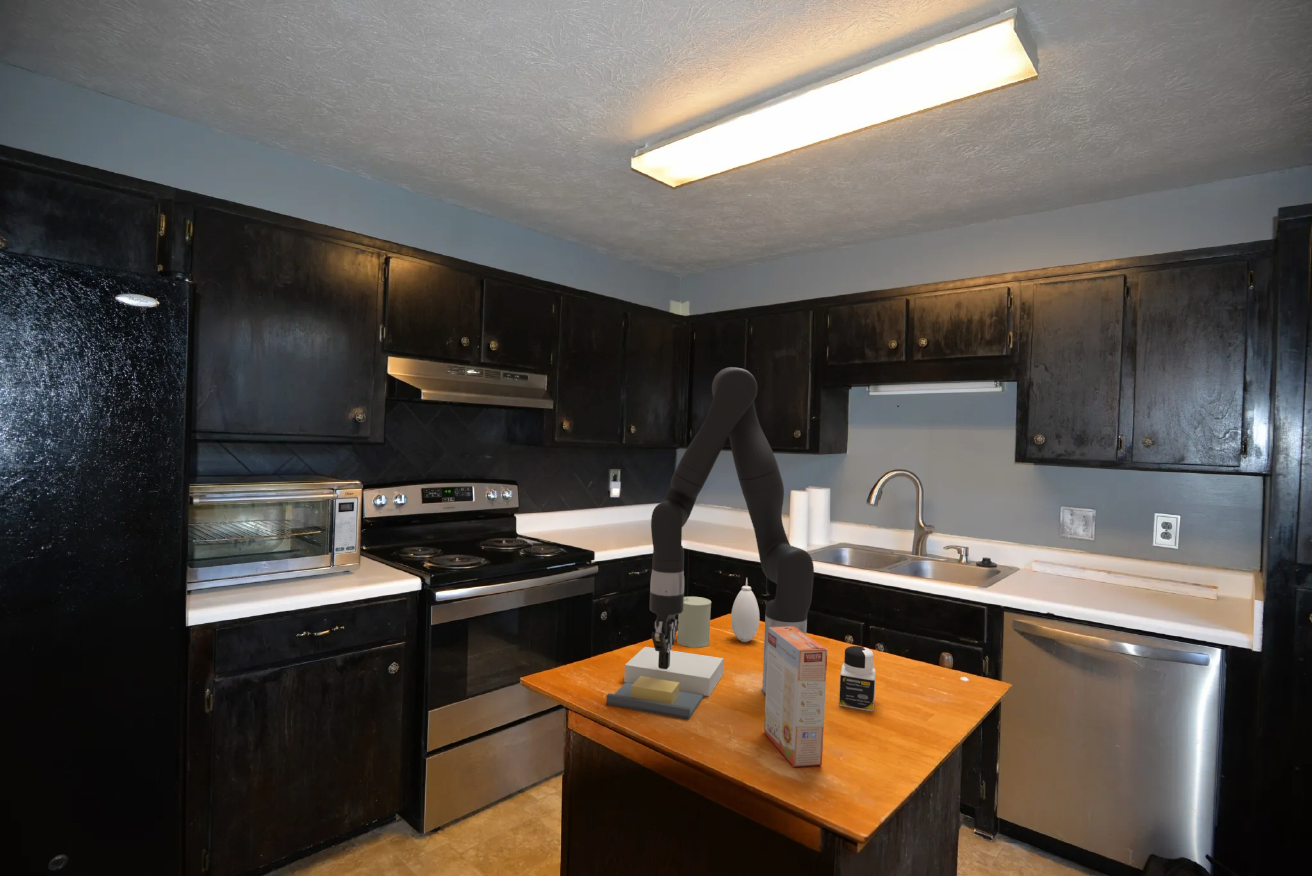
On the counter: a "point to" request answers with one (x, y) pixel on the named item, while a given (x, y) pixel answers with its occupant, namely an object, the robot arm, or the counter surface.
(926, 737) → the counter surface
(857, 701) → the medicine bottle
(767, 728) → the cracker box
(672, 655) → the white flat block
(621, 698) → the tray
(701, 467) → the robot arm
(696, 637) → the can
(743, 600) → the white bulb air blower
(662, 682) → the yellow block
